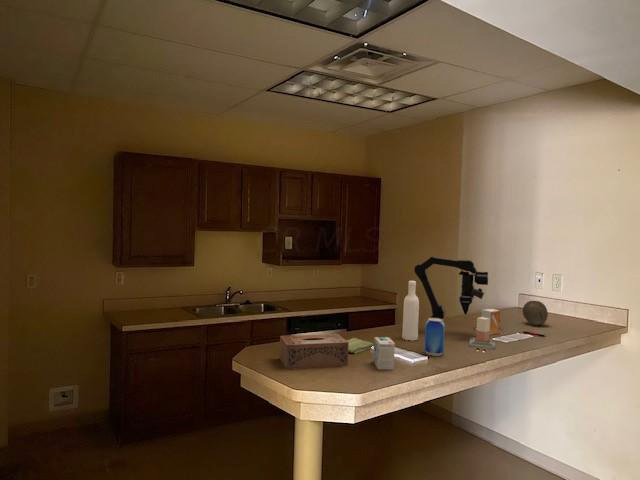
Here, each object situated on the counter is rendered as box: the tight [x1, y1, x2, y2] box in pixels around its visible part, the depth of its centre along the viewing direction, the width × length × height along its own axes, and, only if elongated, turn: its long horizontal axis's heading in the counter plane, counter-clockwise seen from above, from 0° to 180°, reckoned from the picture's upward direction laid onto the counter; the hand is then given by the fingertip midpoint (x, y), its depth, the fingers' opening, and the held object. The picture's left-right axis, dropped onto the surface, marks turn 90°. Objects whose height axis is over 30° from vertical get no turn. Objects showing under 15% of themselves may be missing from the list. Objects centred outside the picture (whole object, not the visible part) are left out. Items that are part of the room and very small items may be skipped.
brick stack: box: [475, 316, 490, 343], centre depth 230 cm, size 4×4×12 cm
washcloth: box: [346, 337, 374, 355], centre depth 217 cm, size 13×18×3 cm
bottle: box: [401, 280, 420, 342], centre depth 237 cm, size 8×8×30 cm
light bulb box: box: [372, 336, 396, 371], centre depth 192 cm, size 11×7×11 cm, turn 5°
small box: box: [480, 308, 501, 336], centre depth 257 cm, size 8×6×13 cm
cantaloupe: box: [522, 300, 549, 327], centre depth 282 cm, size 14×14×15 cm
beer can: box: [424, 317, 446, 357], centre depth 212 cm, size 8×8×16 cm
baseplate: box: [468, 337, 496, 350], centre depth 231 cm, size 12×12×2 cm
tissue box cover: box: [279, 333, 349, 370], centre depth 194 cm, size 26×14×10 cm, turn 106°
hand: (466, 312), depth 246 cm, fingers open, 9 cm apart
